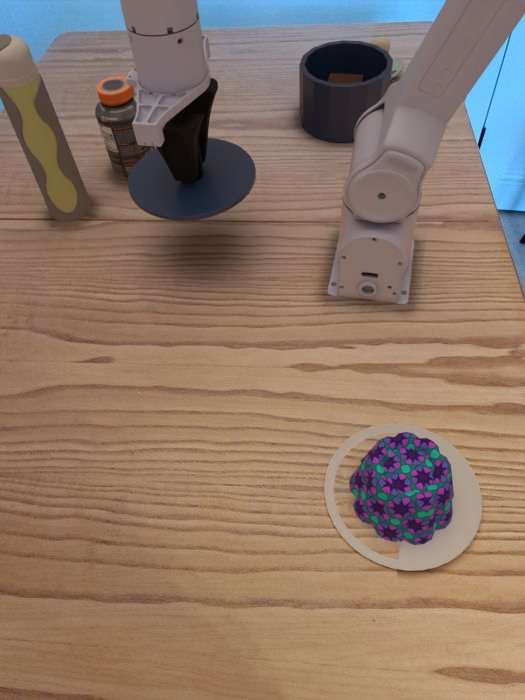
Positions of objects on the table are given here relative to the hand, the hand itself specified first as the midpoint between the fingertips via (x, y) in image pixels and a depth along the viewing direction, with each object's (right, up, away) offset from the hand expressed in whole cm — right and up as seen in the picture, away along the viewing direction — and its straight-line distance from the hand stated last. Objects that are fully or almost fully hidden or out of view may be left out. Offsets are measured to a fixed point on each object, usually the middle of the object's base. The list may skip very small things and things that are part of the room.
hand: (190, 169), depth 55 cm
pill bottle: (-9, +5, +18) cm, 21 cm away
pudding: (+18, -29, -10) cm, 35 cm away
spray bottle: (-16, -1, +14) cm, 21 cm away
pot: (+18, +14, +22) cm, 32 cm away
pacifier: (+23, +22, +28) cm, 42 cm away
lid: (0, -1, +1) cm, 1 cm away
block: (+18, +14, +22) cm, 31 cm away
